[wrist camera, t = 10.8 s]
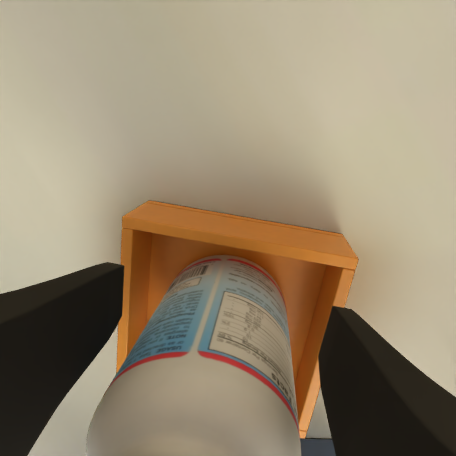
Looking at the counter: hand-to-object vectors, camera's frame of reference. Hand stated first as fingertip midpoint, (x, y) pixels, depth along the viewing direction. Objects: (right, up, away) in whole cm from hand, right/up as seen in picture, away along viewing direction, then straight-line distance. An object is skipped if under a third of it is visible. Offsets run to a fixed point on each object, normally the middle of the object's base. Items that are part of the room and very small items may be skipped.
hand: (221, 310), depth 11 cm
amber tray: (0, -1, +6) cm, 6 cm away
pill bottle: (0, -1, +6) cm, 6 cm away
